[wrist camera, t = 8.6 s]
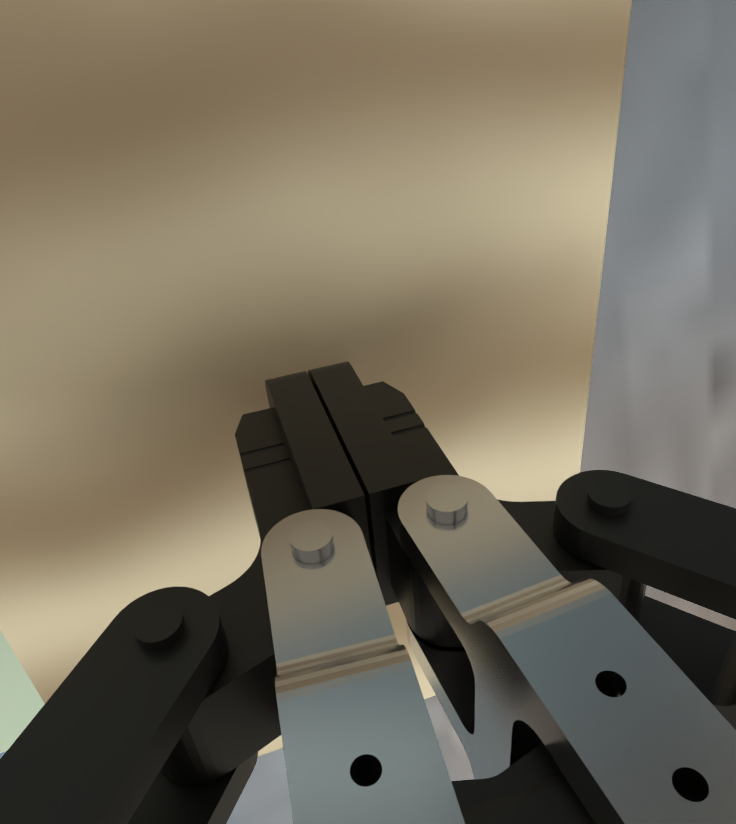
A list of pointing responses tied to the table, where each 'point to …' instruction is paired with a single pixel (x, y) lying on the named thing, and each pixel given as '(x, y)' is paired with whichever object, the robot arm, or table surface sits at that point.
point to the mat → (15, 697)
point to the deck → (279, 265)
